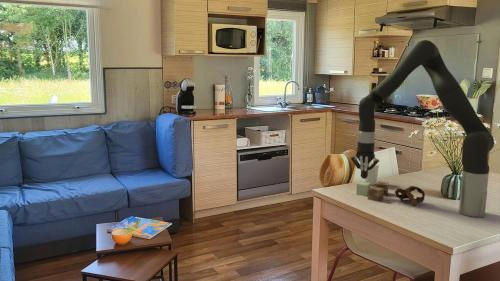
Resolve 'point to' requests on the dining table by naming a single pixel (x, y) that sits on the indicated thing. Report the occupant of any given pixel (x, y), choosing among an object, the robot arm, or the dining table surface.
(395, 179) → the dining table surface
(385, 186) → the walnut block one
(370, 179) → the white cup
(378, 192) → the walnut block two
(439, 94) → the robot arm
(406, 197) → the brown looped ring sculpture
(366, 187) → the plain block
